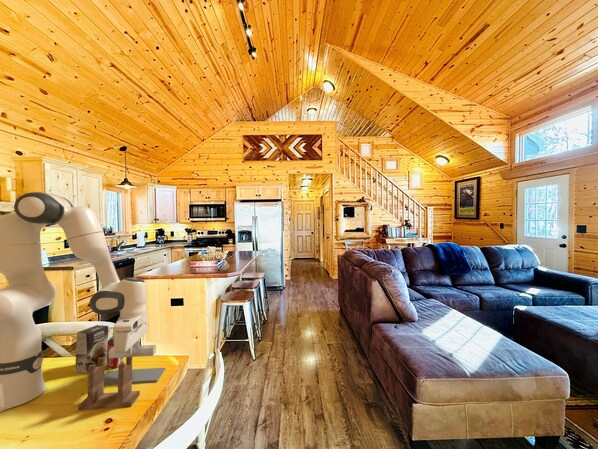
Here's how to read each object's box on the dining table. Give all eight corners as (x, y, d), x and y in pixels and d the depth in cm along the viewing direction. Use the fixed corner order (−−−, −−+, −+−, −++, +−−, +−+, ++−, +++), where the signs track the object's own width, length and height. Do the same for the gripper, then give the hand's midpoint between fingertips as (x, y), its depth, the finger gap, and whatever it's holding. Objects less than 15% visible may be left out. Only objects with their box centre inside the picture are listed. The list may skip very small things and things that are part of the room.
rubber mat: (93, 386, 97) (93, 383, 97) (107, 372, 106) (107, 370, 106) (156, 382, 100) (156, 379, 100) (165, 369, 109) (165, 367, 109)
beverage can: (103, 369, 108) (104, 340, 108) (111, 362, 114) (112, 335, 114) (118, 369, 109) (119, 340, 109) (126, 362, 115) (126, 334, 115)
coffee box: (87, 373, 105) (88, 333, 105) (74, 371, 106) (75, 332, 107) (108, 362, 114) (109, 325, 114) (96, 360, 115) (97, 324, 116)
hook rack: (77, 410, 84) (79, 366, 85) (89, 398, 90) (91, 357, 90) (131, 406, 87) (132, 364, 87) (139, 394, 93) (140, 355, 93)
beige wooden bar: (108, 358, 101) (108, 350, 101) (112, 354, 104) (113, 346, 104) (152, 355, 103) (153, 348, 103) (155, 352, 106) (156, 344, 106)
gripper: (136, 310, 113) (136, 342, 113) (110, 328, 93) (109, 367, 93) (152, 310, 114) (151, 341, 114) (129, 327, 94) (128, 366, 94)
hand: (132, 353), depth 103 cm, fingers closed on beige wooden bar, 3 cm apart
